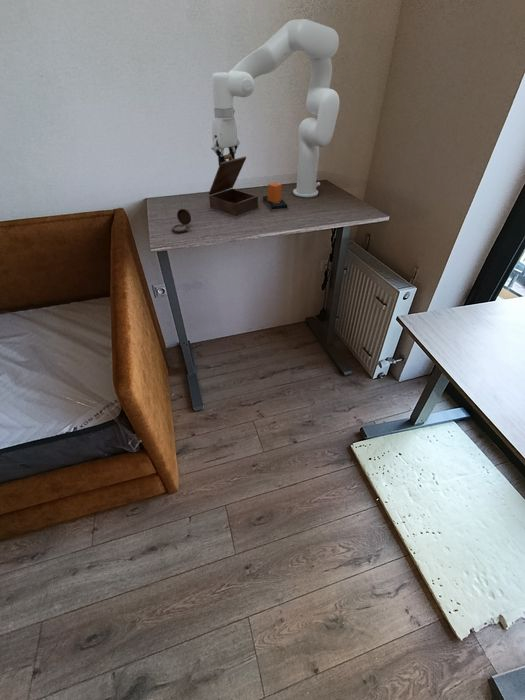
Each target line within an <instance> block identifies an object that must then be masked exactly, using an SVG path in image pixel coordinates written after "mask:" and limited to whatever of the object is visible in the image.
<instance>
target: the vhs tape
mask: <svg viewBox="0 0 525 700" xmlns="http://www.w3.org/2000/svg"><path fill="white" fill-rule="evenodd" d="M262 200H263V201H264V202H265V204H267V206H268V207H269V208H270V210H281V209H288V204H287V203H286V201H285V200H284V199H282V198H281V201H278V202H276V203H274V202H271V201H268V195H263V196H262Z"/></svg>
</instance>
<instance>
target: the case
mask: <svg viewBox="0 0 525 700" xmlns="http://www.w3.org/2000/svg"><path fill="white" fill-rule="evenodd" d="M208 198H209V208H211V209H213V210H217V211H219V212H222V213H224V214H228V215H230V216H232V217H238V216H240V215H244V214H246V213H249V212H250V211H254V210H256V209H258V208H259V196H258V195H256V194H253V193H249V192H246V191H243V190H239V189H236V188H234V187H233V188H230V189H227V190H224V191H221V192H218V193H215V194H212V195H208Z"/></svg>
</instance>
